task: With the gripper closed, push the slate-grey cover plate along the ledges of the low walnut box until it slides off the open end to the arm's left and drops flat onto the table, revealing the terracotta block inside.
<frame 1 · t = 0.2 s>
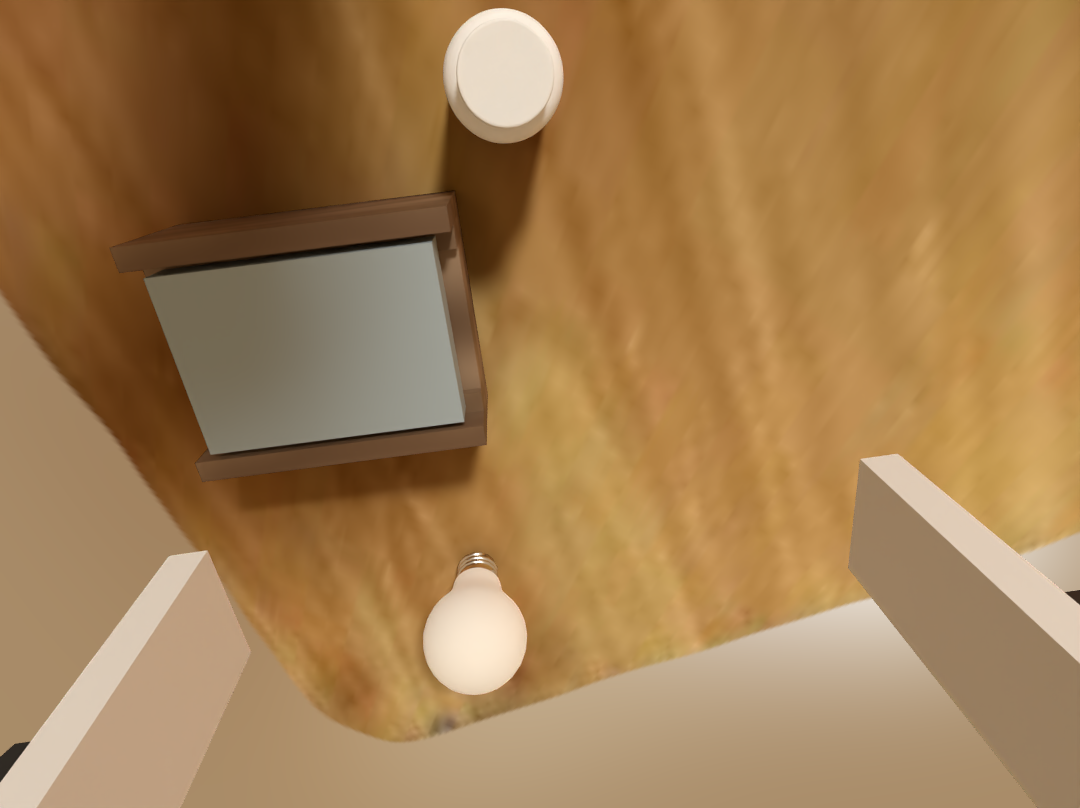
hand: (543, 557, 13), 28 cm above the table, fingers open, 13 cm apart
supplement bottle: (501, 85, 34), on the table
walnut box: (343, 316, 39), on the table
light bulb: (478, 559, 47), on the table
cover plate: (324, 342, 34), point 5 cm above the table, touching walnut box
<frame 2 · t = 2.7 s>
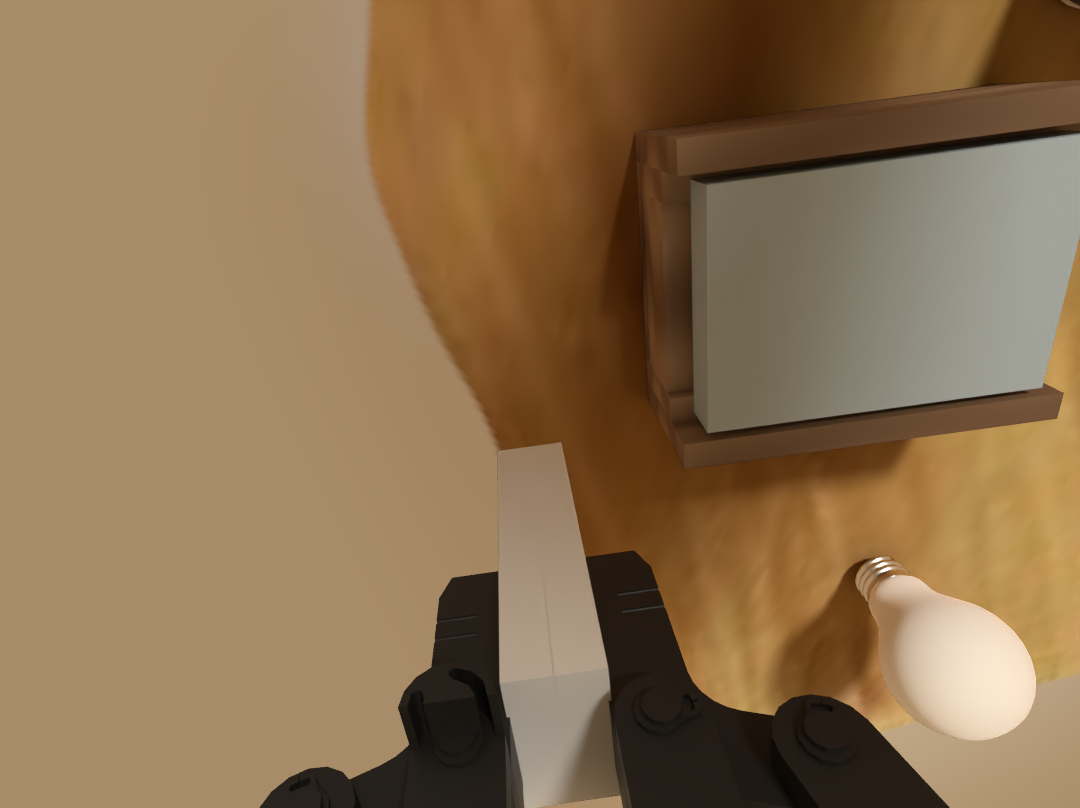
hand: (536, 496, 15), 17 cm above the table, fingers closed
walnut box: (806, 256, 30), on the table
light bulb: (869, 564, 39), on the table
cover plate: (861, 282, 26), point 5 cm above the table, touching walnut box
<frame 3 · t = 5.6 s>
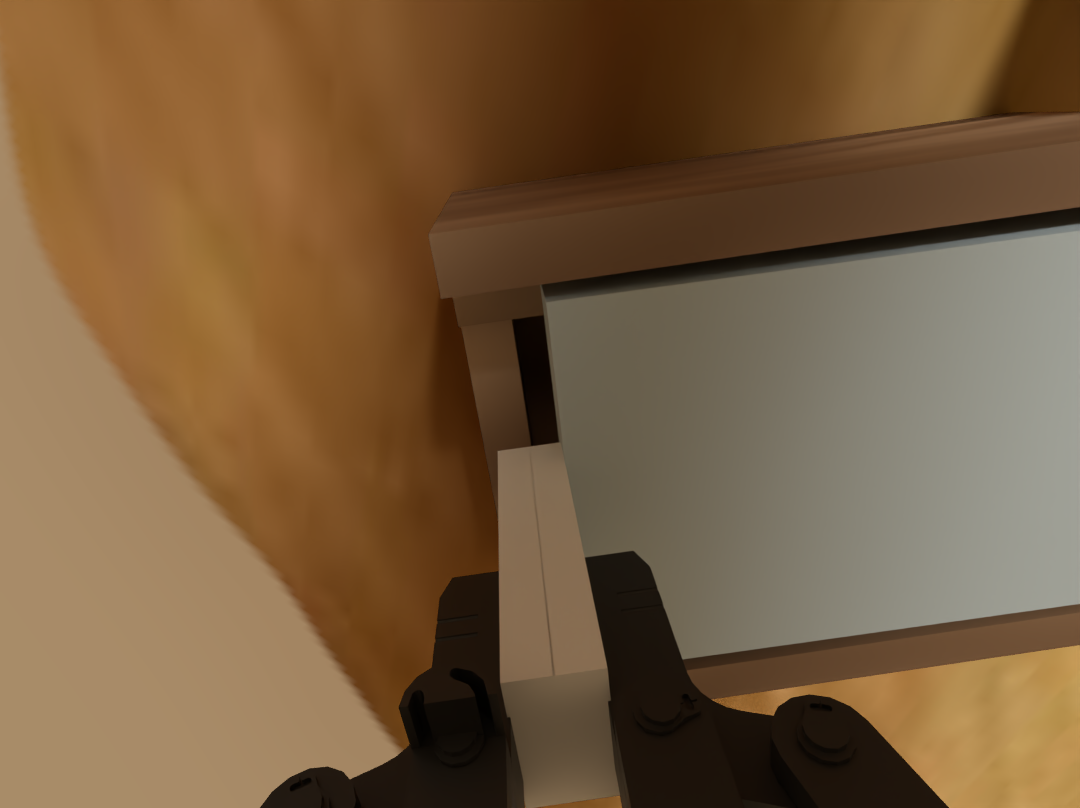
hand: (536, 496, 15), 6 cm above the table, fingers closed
walnut box: (732, 365, 20), on the table
cover plate: (835, 431, 16), point 5 cm above the table
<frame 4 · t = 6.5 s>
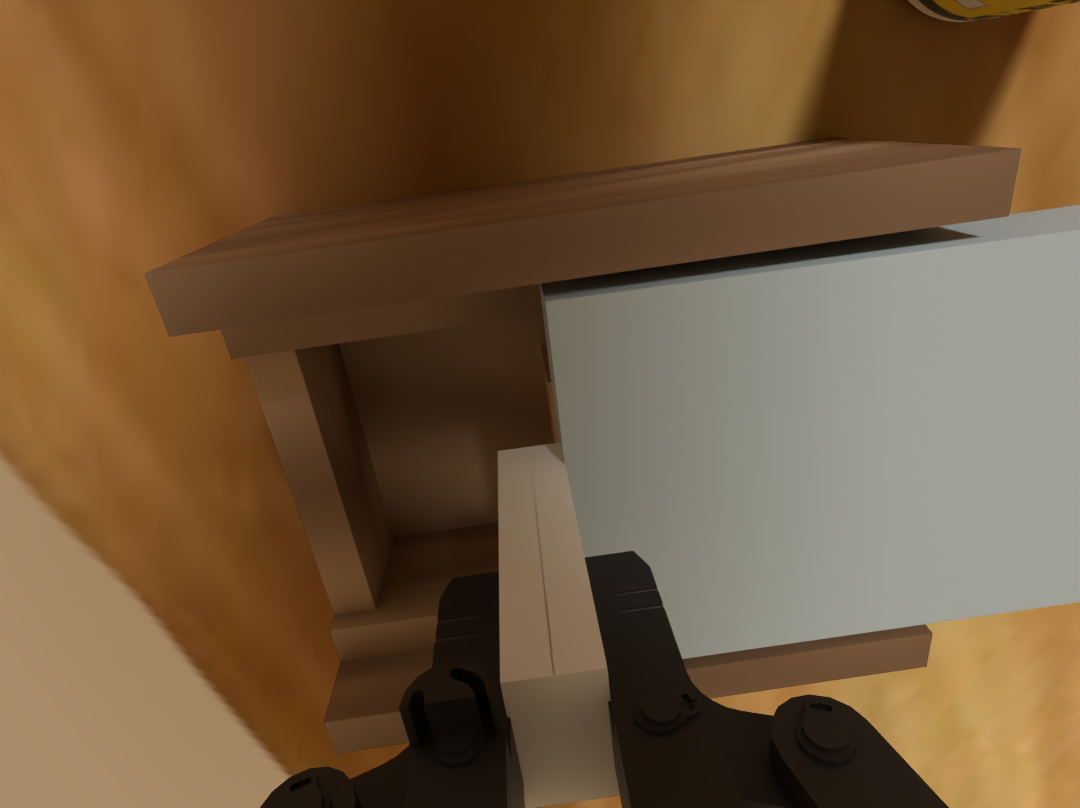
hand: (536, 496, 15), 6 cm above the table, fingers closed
terracotta block: (611, 395, 19), point 1 cm above the table, touching walnut box
walnut box: (576, 387, 20), on the table
cover plate: (834, 430, 16), point 5 cm above the table, touching gripper, walnut box
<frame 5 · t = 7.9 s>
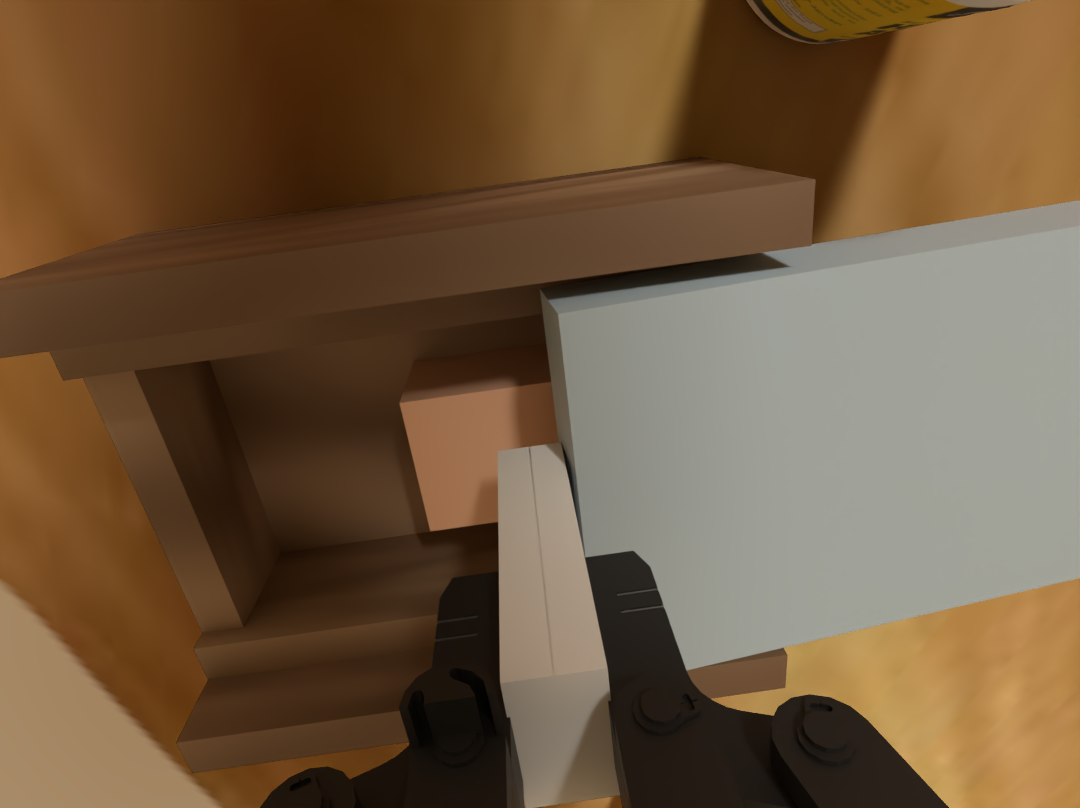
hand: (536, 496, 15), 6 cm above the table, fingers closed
terracotta block: (490, 412, 19), point 1 cm above the table, touching walnut box
walnut box: (460, 403, 20), on the table
cover plate: (828, 431, 16), point 5 cm above the table, tilted 6°, touching gripper, walnut box
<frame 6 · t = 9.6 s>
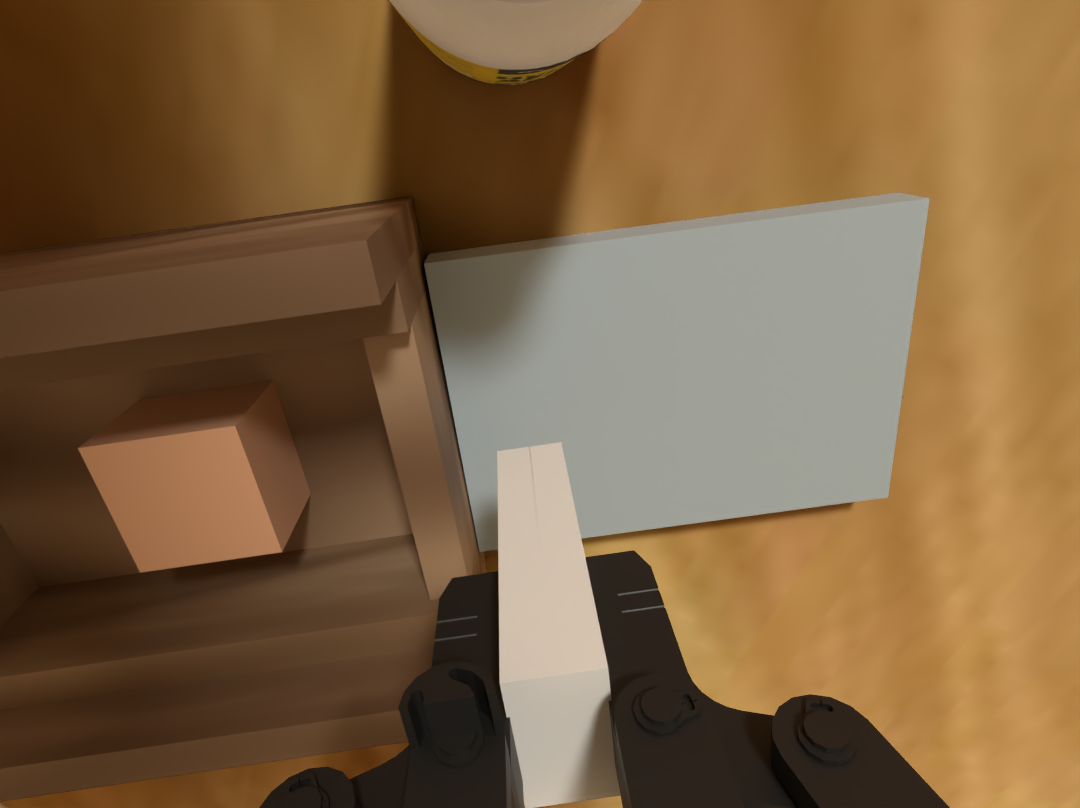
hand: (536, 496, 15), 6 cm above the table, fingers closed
terracotta block: (228, 448, 19), point 1 cm above the table, touching walnut box
walnut box: (209, 438, 20), on the table
cover plate: (665, 369, 21), on the table
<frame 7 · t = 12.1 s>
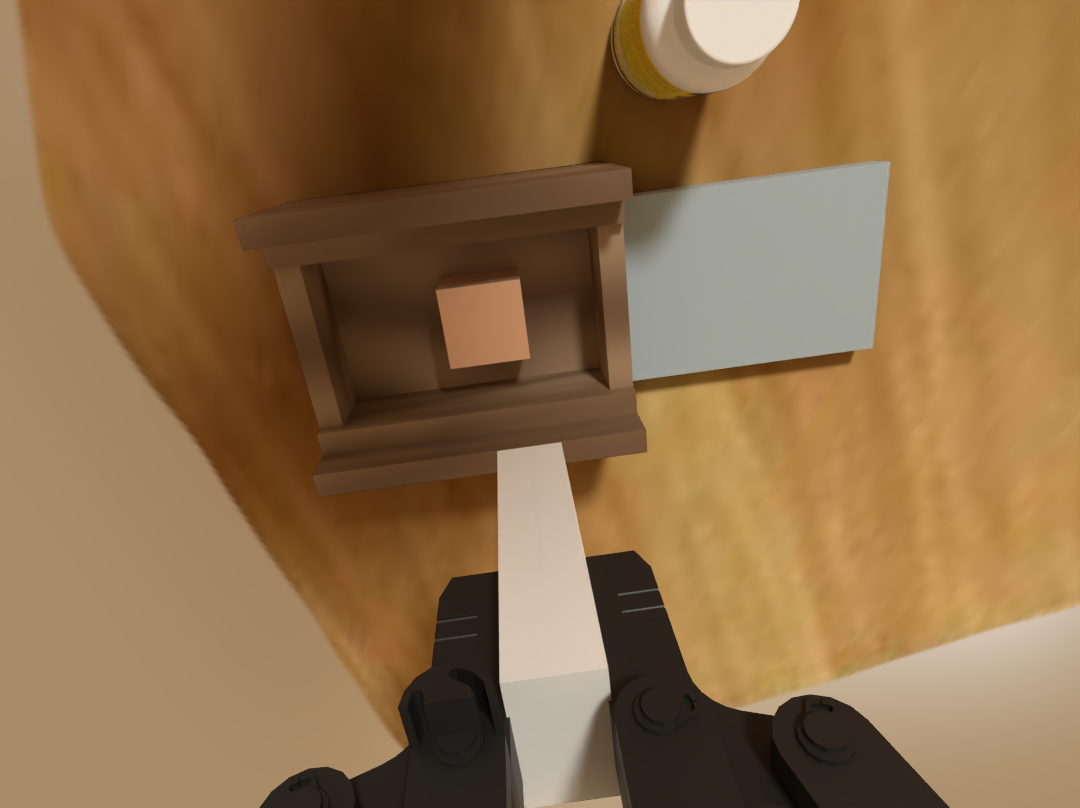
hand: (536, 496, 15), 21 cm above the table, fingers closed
supplement bottle: (665, 38, 30), on the table
terracotta block: (485, 309, 33), point 1 cm above the table, touching walnut box
walnut box: (467, 307, 34), on the table
cover plate: (736, 270, 35), on the table
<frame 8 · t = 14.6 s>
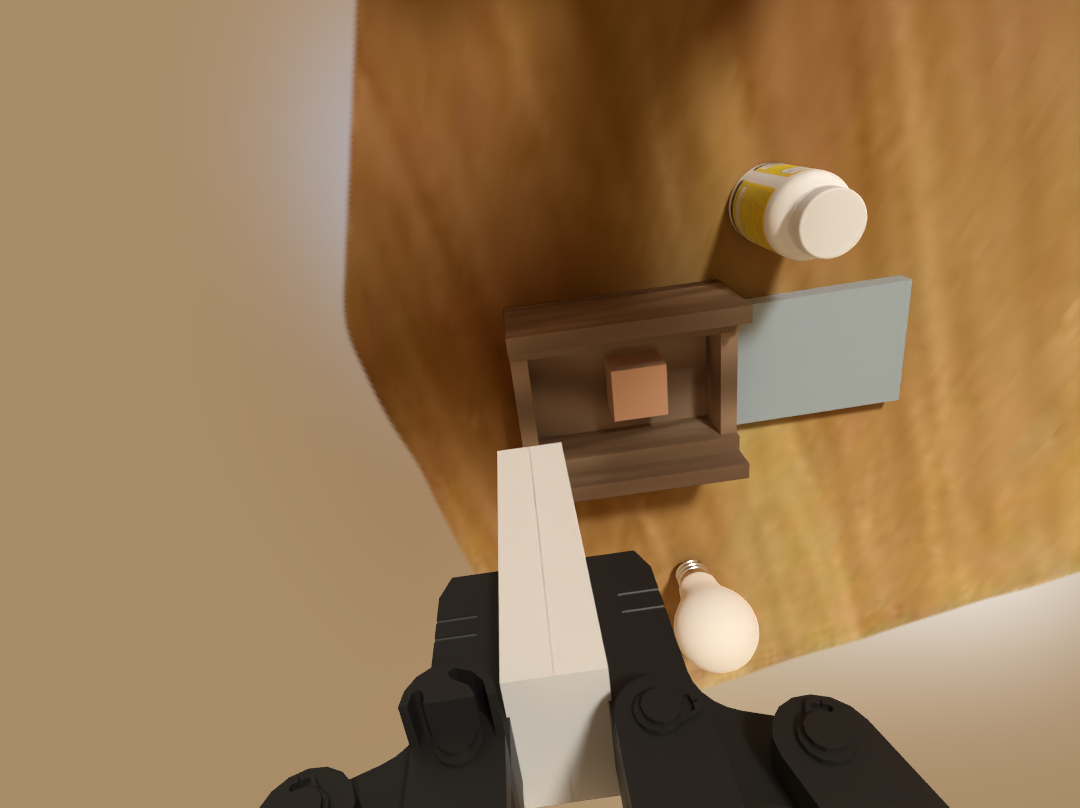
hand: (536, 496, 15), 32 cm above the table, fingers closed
supplement bottle: (763, 202, 44), on the table
terracotta block: (631, 377, 48), point 1 cm above the table, touching walnut box
walnut box: (616, 374, 49), on the table
light bulb: (688, 565, 58), on the table
cover plate: (803, 347, 50), on the table
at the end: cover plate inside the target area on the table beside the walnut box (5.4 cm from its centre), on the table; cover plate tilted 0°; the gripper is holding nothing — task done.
